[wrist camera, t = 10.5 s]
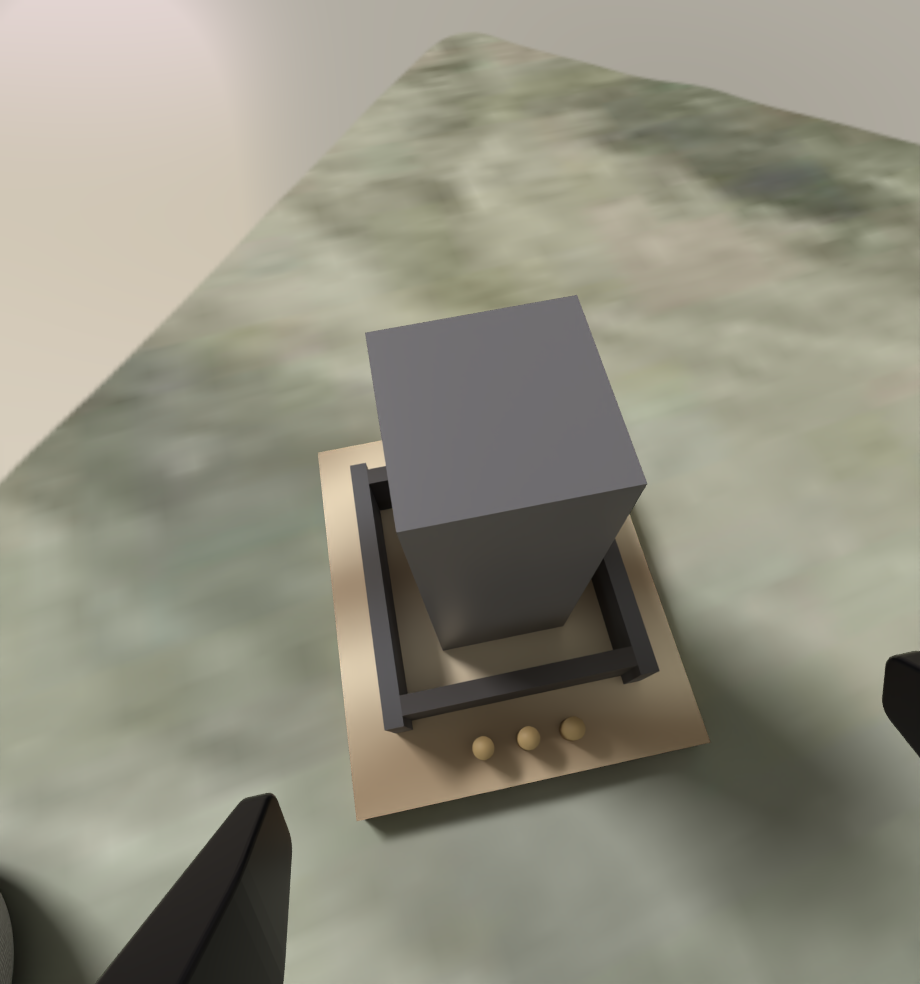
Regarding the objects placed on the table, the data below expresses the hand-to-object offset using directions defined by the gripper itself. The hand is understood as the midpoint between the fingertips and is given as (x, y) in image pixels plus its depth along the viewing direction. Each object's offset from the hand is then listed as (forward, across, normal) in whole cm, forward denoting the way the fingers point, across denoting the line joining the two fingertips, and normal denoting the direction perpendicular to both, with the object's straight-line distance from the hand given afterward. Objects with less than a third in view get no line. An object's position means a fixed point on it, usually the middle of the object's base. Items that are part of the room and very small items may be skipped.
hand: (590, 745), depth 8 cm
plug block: (+13, 0, +4) cm, 14 cm away
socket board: (+14, 0, +5) cm, 15 cm away
